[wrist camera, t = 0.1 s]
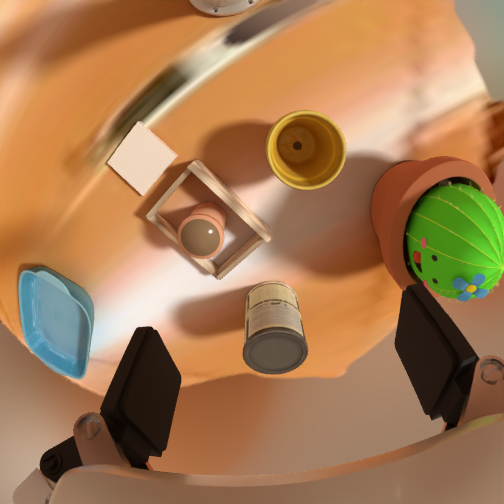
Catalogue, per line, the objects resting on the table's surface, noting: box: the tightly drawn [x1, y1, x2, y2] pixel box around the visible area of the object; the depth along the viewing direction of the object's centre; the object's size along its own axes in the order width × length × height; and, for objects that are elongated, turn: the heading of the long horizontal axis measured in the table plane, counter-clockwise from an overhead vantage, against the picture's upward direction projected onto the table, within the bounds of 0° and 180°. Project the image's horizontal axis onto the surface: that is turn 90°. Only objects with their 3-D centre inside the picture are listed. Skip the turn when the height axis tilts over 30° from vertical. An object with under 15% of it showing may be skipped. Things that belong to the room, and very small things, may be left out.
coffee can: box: [243, 281, 308, 374], centre depth 48 cm, size 10×10×14 cm
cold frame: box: [146, 159, 271, 280], centre depth 45 cm, size 17×13×5 cm
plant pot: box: [265, 110, 346, 190], centre depth 37 cm, size 10×10×10 cm
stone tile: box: [108, 121, 178, 196], centre depth 42 cm, size 9×9×1 cm
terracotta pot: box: [177, 202, 226, 259], centre depth 44 cm, size 7×7×8 cm
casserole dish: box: [18, 267, 94, 379], centre depth 56 cm, size 37×22×7 cm, turn 152°
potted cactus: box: [371, 156, 504, 302], centre depth 34 cm, size 22×22×25 cm
